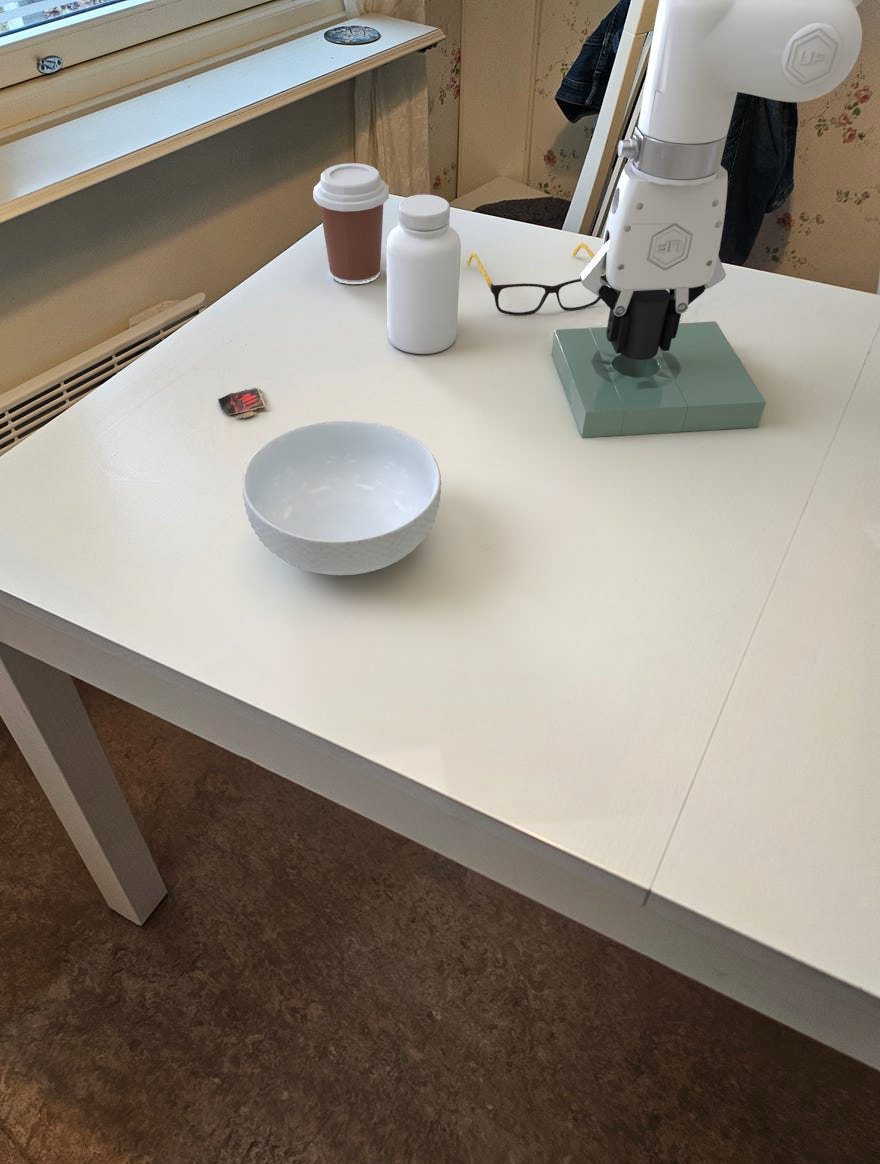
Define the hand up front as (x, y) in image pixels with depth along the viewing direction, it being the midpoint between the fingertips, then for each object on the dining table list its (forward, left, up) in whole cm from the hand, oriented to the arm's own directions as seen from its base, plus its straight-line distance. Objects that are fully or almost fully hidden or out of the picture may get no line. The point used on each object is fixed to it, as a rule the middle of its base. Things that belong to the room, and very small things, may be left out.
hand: (639, 343), depth 91 cm
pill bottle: (+21, -13, -6) cm, 25 cm away
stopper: (0, 0, -1) cm, 1 cm away
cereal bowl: (+31, +21, -6) cm, 38 cm away
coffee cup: (+28, -30, -6) cm, 41 cm away
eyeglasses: (+6, -24, -6) cm, 25 cm away
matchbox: (+41, -1, -5) cm, 41 cm away
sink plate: (-2, 0, -5) cm, 6 cm away
